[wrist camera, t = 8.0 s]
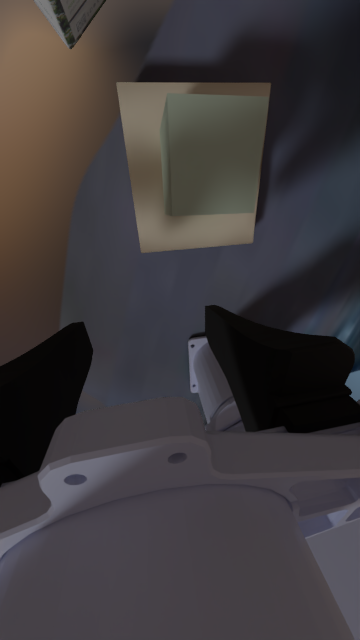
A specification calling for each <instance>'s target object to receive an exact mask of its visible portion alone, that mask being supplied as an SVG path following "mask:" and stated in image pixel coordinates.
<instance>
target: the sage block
mask: <svg viewBox="0 0 360 640" xmlns="http://www.w3.org/2000/svg"><path fill="white" fill-rule="evenodd" d="M268 103H269V97H261V96H233V95H205V94H177V93H167V97H166V102H165V107H164V111H163V116H162V121H161V126H160V145H161V162H162V178H163V195H164V212H165V215H170V216H189V215H214V214H239V213H254V209H255V202H256V194H257V187H258V179H259V171H260V164H261V156H262V148H263V141H264V133H265V125H266V118H267V110H268Z"/></svg>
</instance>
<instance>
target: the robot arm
mask: <svg viewBox="0 0 360 640" xmlns="http://www.w3.org/2000/svg"><path fill="white" fill-rule="evenodd" d="M205 335H206V336H202V337H195V338H190V339H189V340H188V350H189V370H190V389H191V392H192V393H196V392H198V393H199V396H200V400H201V403H202V406H203V410H204V413H205V416H206V419H207V423H208V424H207V425H206V426H205V427H206V430H205V427H204V423H203V420H202V416H201V413H200V411H199V409H198V407H197V404H196V403H193V402H191V401H189V400H187V399H185V398H183V397H162V398H156V399H151V400H145V401H139V402H133V403H128V404H122V405H116V406H111V407H105V408H99V409H93V410H88V411H84V412H81V413H78V414H76V409H77V404H78V401H79V398H80V395H81V392H82V389H83V386H84V383H85V380H86V378H87V375H88V372H89V369H90V365H91V361H92V355H93V348H92V345H91V342H90V339H89V336H88V334H87V331H86V328H85V325H84V322H77V323H71V324H69V325H68V326H66V327H65V328H63V329H61V330H60V331H59V332H57V333H56V334H54V335H53V336H51V337H50V338H48V339H47V340H45V341H44V342H42V343H41V344H39V345H38V346H36V347H34V348H33V349H31V350H30V351H28V352H26V353H25V354H23V355H21V356H20V357H17V358H16V359H14V360H12V361H10V362H8V363H6V364H4V365H2V366H0V640H360V400H358V401H357V402H356V401H355V400H354V399H353V398H351V397H350V396H349V395H351V393H352V391H351V390H350V389H349V388H348V387H347V386H346V385H345V382H346V380H347V378H348V376H349V374H350V372H351V370H352V368H353V365H354V361H355V354H354V352H353V350H352V349H351V348H350V347H349V346H347V345H346V344H345V343H343V342H342V341H340V340H339V339H337V338H336V337H331V336H319V335H308V334H301V333H294V332H289V331H284V330H279V329H275V328H271V327H267V326H264V325H261V324H258V323H255V322H252V321H250V320H247V319H245V318H242V317H240V316H238V315H236V314H234V313H232V312H229V311H227V310H225V309H223V308H221V307H219V306H217V305H210V306H205ZM192 344H194V345H193V346H191V345H192ZM194 384H195V385H194ZM75 414H76V415H75Z"/></svg>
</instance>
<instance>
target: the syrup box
mask: <svg viewBox="0 0 360 640" xmlns="http://www.w3.org/2000/svg"><path fill="white" fill-rule="evenodd" d="M105 1H106V0H34V2H35V3H36V4H37V6H38V7H39V8H40V10H41V11H42V12H43V14H44V15H45V17H46V18H47V20H48V21H49V22H50V24H51V25H52V26H53V28H54V29H55V31H56V32H57V33H58V35H59V36H60V37H61V39H62V40H63V42H64V43H65V44H66V45H67V47H68V48H69V49H72V48H73V47H74V45H75V44H76V43H77V41H78V40H79V38H80V37H81V36H82V34H83V32H84V31H85V30H86V28H87V27H88V25H89V24H90V23H91V21H92V20H93V18H94V17H95V15H96V14H97V13H98V11H99V10H100V8H101V7H102V5H103V4H104V3H105Z"/></svg>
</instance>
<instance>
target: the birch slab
mask: <svg viewBox="0 0 360 640" xmlns="http://www.w3.org/2000/svg"><path fill="white" fill-rule="evenodd" d="M270 88H271V83H162V82H130V83H129V82H128V83H127V82H126V83H125V82H118V83H117V91H118V98H119V104H120V111H121V118H122V125H123V132H124V138H125V145H126V152H127V159H128V166H129V172H130V179H131V186H132V193H133V200H134V206H135V213H136V220H137V227H138V234H139V241H140V247H141V253H147V252H158V251H169V250H180V249H191V248H203V247H214V246H225V245H236V244H247V243H253V235H254V226H255V218H256V209H257V200H258V192H259V183H260V174H261V166H262V157H263V148H264V141H263V148H262V156H261V164H260V171H259V179H258V187H257V194H256V202H255V209H254V213H239V214H214V215H189V216H170V215H165V212H164V195H163V178H162V162H161V145H160V126H161V121H162V116H163V111H164V107H165V102H166V97H167V93H177V94H205V95H233V96H261V97H269V96H270ZM268 105H269V103H268ZM267 114H268V110H267ZM266 122H267V118H266ZM265 131H266V125H265ZM264 140H265V133H264Z"/></svg>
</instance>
